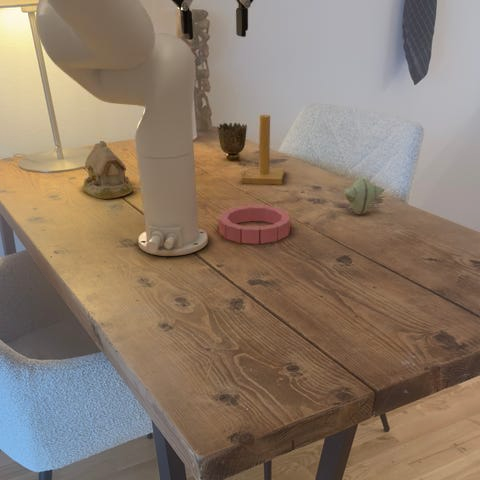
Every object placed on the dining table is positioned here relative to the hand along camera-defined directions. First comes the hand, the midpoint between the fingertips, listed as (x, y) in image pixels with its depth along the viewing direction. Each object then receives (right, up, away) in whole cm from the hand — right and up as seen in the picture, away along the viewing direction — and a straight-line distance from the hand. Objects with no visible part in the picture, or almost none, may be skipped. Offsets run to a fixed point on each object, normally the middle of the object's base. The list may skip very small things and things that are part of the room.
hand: (215, 37), depth 99 cm
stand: (+10, -9, +35) cm, 37 cm away
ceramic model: (-25, -14, +30) cm, 42 cm away
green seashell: (+28, -26, +15) cm, 41 cm away
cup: (+2, +1, +48) cm, 48 cm away
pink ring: (+7, -31, +8) cm, 33 cm away
